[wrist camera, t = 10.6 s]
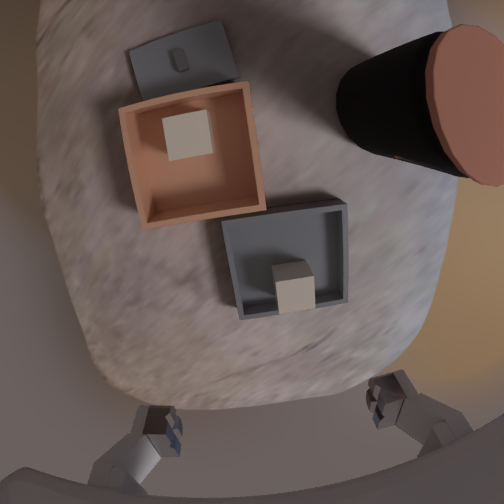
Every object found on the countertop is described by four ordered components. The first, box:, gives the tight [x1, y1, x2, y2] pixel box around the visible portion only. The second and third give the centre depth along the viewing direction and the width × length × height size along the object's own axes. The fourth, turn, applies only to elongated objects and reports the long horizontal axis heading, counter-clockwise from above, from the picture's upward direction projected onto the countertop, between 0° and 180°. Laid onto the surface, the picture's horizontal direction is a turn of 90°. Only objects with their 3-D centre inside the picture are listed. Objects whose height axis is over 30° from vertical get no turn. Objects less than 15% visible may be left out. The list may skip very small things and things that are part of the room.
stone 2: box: [271, 260, 315, 314], centre depth 33 cm, size 4×4×4 cm
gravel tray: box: [221, 199, 348, 320], centre depth 34 cm, size 12×13×2 cm
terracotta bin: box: [118, 81, 267, 230], centre depth 28 cm, size 12×12×4 cm
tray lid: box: [129, 19, 240, 101], centre depth 25 cm, size 7×10×2 cm
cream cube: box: [162, 110, 216, 161], centre depth 27 cm, size 4×4×4 cm
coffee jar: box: [336, 24, 504, 187], centre depth 20 cm, size 11×11×18 cm
